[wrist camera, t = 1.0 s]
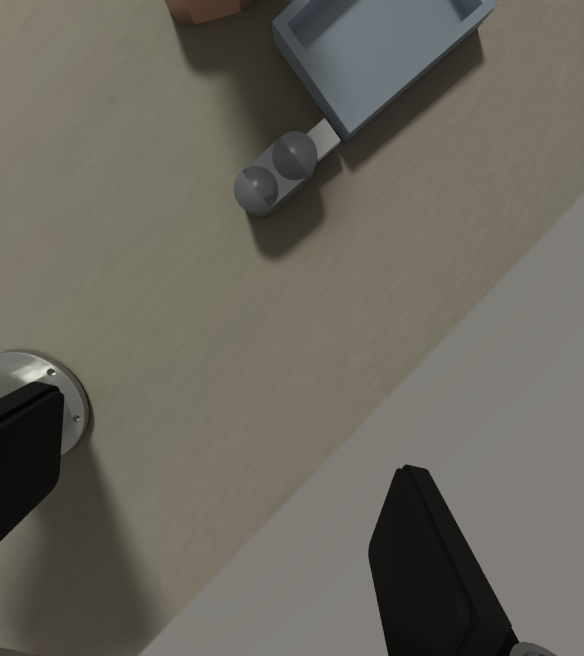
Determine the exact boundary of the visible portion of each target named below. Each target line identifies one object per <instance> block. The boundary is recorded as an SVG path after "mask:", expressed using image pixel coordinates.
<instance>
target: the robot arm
mask: <svg viewBox="0 0 584 656" xmlns="http://www.w3.org/2000/svg"><path fill="white" fill-rule="evenodd" d="M88 419H89V408H88V402H87V398H86V395H85V392H84V390H83V389H82V387H81V385H80V383H79V382H78V380H77V379H76V378H75V376H74V375H73V374H72V373H71V372H70V371H69V370H68V369H67V368H66V367H65V366H63V365H62V364H60V363H59V362H57V361H56V360H54V359H53V358H50V357H48V356H46V355H44V354H41V353H37V352H34V351H29V350H8V351H4V352H1V353H0V541H1V540H2V539H3V538H4V537H5V536H6V535H7V534H8V533H9V532H10V531H11V530H12V529H13V528H14V527H15V526H16V525H17V524H18V523H19V522H20V521H22V520H23V519H24V518H25V517H26V516H27V515H28V514H29V513H30V512H31V511H32V510H33V509H34V508H35V507H36V506H37V505H38V504H39V503H40V502H41V501H42V500H43V499H44V498H45V497H46V496H47V495H48V494H49V493H50V492H51V491H52V490H53V488H54V487H55V485H56V484H57V482H58V479H59V475H60V460H61V456H62V455H64V454H65V453H67V452H68V451H69V450H70V449H72V448H73V447H74V446H75V445H76V444H77V443H78V442H79V441H80V439H81V438H82V436H83V435H84V433H85V430H86V428H87V425H88ZM368 556H369V562H370V567H371V572H372V577H373V582H374V587H375V592H376V596H377V602H378V606H379V612H380V617H381V622H382V626H383V631H384V636H385V641H386V646H387V650H388V656H556V655H555V654H553V653H552V652H550V651H549V650H547V649H545V648H543V647H541V646H538V645H536V644H534V643H527V642H521V643H519V641H518V639H517V637H516V635H515V634H514V631H513V630H512V628H511V627H512V625H511V623H510V621H509V619H508V617H507V615H506V614H505V612H504V610H503V608H502V606H501V604H500V603H499V601H498V599H497V597H496V595H495V593H494V591H493V590H492V588H491V586H490V584H489V582H488V580H487V578H486V577H485V575H484V573H483V571H482V569H481V567H480V565H479V564H478V562H477V560H476V558H475V556H474V555H473V552H472V551H471V549H470V547H469V545H468V543H467V541H466V540H465V538H464V536H463V534H462V532H461V530H460V528H459V527H458V525H457V523H456V521H455V519H454V517H453V515H452V514H451V512H450V510H449V508H448V506H447V504H446V502H445V501H444V499H443V497H442V495H441V493H440V491H439V489H438V488H437V486H436V484H435V482H434V480H433V478H432V477H431V475H430V473H429V471H428V470H427V469H424V468H420V467H416V466H411V465H404V466H403V468H402V469H400V468H398V469H397V470H396V472H395V474H394V477H393V480H392V482H391V485H390V488H389V491H388V493H387V496H386V499H385V502H384V505H383V508H382V510H381V513H380V516H379V518H378V521H377V524H376V527H375V530H374V533H373V535H372V538H371V541H370V544H369V551H368ZM0 656H40V655H35V654H30V653H25V652H20V651H15V650H10V649H5V648H0Z"/></svg>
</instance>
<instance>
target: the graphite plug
mask: <svg viewBox="0 0 584 656" xmlns="http://www.w3.org/2000/svg"><path fill="white" fill-rule="evenodd" d="M340 141H341V140H340V139H339V137H338V136H337V134H336V133H335V132H334V130H333V129H332V127H331V126H330V124H329V123H328V122H327V120H326V119H325V118H324V119H323V120H322V121H320V122H319V123H318V124H317V125H316V126H315V127H314V128H313V129H311V130H310V131H309V132H308V133H307V134H305V133H303V132H300V131H290V132H287V133H285V134H283V135H282V136H280V137H279V138H278V139H277V140H276V141H275V142H274V143H273V144H272V145H270V146H269V147H268V148H267V149H266V150H265V151H264V152H263V153H262V154H260V155H259V156H258V157H257V158H256V159H255V160H254V161H253V162H252V163H250V164H249V165H248V166H247V167H246V168H245V169H244V170H243V171H242V172H241V173H240V174H239V175H238V177H237V178H236V181H235V185H234V193H235V197H236V200H237V202H238V203H239V205H240V206H241V207H242V208H243V209H245V210H246V211H247V212H249V213H250V214H251V215H253V216H256V217H261V218H262V217H268V216H270V215H272V214H273V213H274V212H275V211H276V210H278V209H279V208H280V207H281V206H282V205H283V204H285V203H286V202H287V201H288V200H289V199H290V198H292V197H293V196H294V195H295V194H296V193H297V192H299V191H300V190H301V189H302V188H303V187H304V186H306V185H307V184H308V183H309V181H310V180H311V178H312V176H313V173H314V170H315V166H316V163H318V162H319V161H320V160H321V159H323V158H324V157H325V156H326V155H327V154H328V153H329V152H331V151H332V150H333V149H334V148H335V147H336V146H338V145H339V143H340Z"/></svg>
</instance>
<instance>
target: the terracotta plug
mask: <svg viewBox="0 0 584 656" xmlns="http://www.w3.org/2000/svg"><path fill="white" fill-rule="evenodd" d="M164 1H165V3H166V5H167V6H168V8H169V10H170V12H171V14H172V15H173V17H174V18H175V19H176V20H177V21H179V22H180V23H182V24H185V25H196V24H200V23H203V22H207V21H211V20H214V19H218V18H222V17H225V16H229V15H233V14H236V13H240V12H243V11H245V10H247V9H248V8H249V7H250V6H251V5H252V4H253V2H254V0H164Z"/></svg>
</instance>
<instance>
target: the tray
mask: <svg viewBox="0 0 584 656" xmlns="http://www.w3.org/2000/svg"><path fill="white" fill-rule="evenodd" d="M496 6H497V4H496V2H495V1H494V0H294V1H293V2H292V3H290V4H289V5H288V6H287V7H286V8H285V9H284V10H283V11H282V12H281V13H280V14H279V15H278V16H277V17H276V18H275V19H274V20H273V21H272V29H273V40H274V44H275V45H276V46H277V48H278V49H279V51H280V52H281V54H282V55H283V56H284V58H285V59H286V61H287V62H288V64H289V65H290V66H291V68H292V69H293V71H294V72H295V73H296V75H297V76H298V78H299V79H300V81H301V82H302V83H303V85H304V86H305V88H306V89H307V90H308V92H309V93H310V95H311V96H312V98H313V99H314V100H315V102H316V103H317V105H318V106H319V108H320V109H321V110H322V112H323V113H324V115H325V116H326V117H327V119H328V120H329V122H330V123H331V125H332V126H333V127H334V129H335V130H336V132H337V133H338V135H339V136H340V137H341V139H342V140H343V142H344V143H346V142H347V141H348V140H349V139H350V138H351V137H352V136H354V135H355V134H356V133H357V132H358V131H359V130H361V129H362V128H363V127H364V126H365V125H366V124H368V123H369V122H370V121H371V120H372V119H373V118H374V117H376V116H377V115H378V114H379V113H380V112H381V111H383V110H384V109H385V108H386V107H387V106H388V105H389V104H391V103H392V102H393V101H394V100H395V99H396V98H398V97H399V96H400V95H401V94H402V93H403V92H404V91H406V90H407V89H408V88H409V87H410V86H411V85H413V84H414V83H415V82H416V81H417V80H418V79H420V78H421V77H422V76H423V75H424V74H425V73H426V72H428V71H429V70H430V69H431V68H432V67H433V66H435V65H436V64H437V63H438V62H439V61H440V60H441V59H443V58H444V57H445V56H446V55H447V54H448V53H450V52H451V51H452V50H453V49H454V48H455V47H457V46H458V45H459V44H460V43H461V42H462V41H463V40H465V39H466V38H467V37H468V36H469V35H470V34H472V33H473V32H474V31H475V30H476V29H477V28H478V27H479V26H480V25H481V24H482V23H483V21H484V20H485V19H486V18H487V17H488V16H489V14H490V13H491V12H492V11H493V10H494V9H495V7H496Z"/></svg>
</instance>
